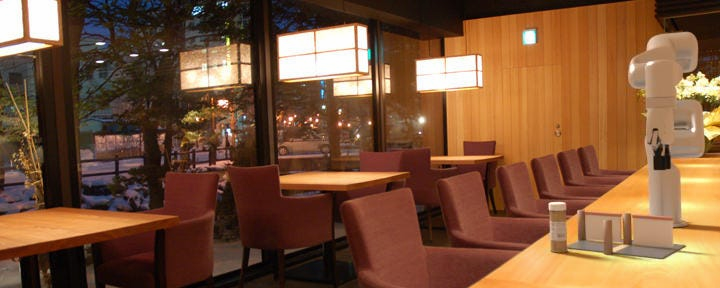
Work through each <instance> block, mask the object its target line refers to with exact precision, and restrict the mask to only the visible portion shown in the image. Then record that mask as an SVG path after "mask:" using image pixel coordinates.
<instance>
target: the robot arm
mask: <svg viewBox="0 0 720 288" xmlns="http://www.w3.org/2000/svg"><path fill="white" fill-rule="evenodd" d="M698 44H699V43H698V40H697V37H696V36H695V34H693V33H692V32H689V31H684V32H683V31H682V32H671V33H661V34H657V35H654V36H652V37H651V38H650V39H649V40H648V41H647V45H646V51H644V52H641V53H639V54H637V55H635V56H634V57H632V59H631V60H630V62H629V66H628V75H627V77H628V78H627V79H628V83H629V85H630V86H631V88H633V89H639V90H641V89H644V90H645V110H646V121H645V123H646V124H645V125H646V126H645V138H644V147H645V154H646V161H647V171H648V206H649V207H648V209H649V210H648V211H649V213H648V214H649V215H652V216H666V217H673V228H683V227H686V226H688V222H687V221H686V220H683V219H682V185H681V183H682V182H681V171H680V169H679V167H678V166H677V165H676V164H675V163H674V162H673V161H672V160H674V159H697V158H700V157H702V156H703V155H704V153H705V148H706V145H705V144H706V141H705V139H706V138H705V123H704V112H703V111H704V110H703V106H702V105H701V103H700V102H699V101H698V100H697V99H688V98H687V99H677V97H678V96H677V95H678V94H677V91H678V90H677V87H676V86H679V84H680V83H681V81H682V80H683V76H684V73H691V72H694V70H696V68H697V66H698V62H699V61H698V59H699V58H698V57H699V45H698Z"/></svg>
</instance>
